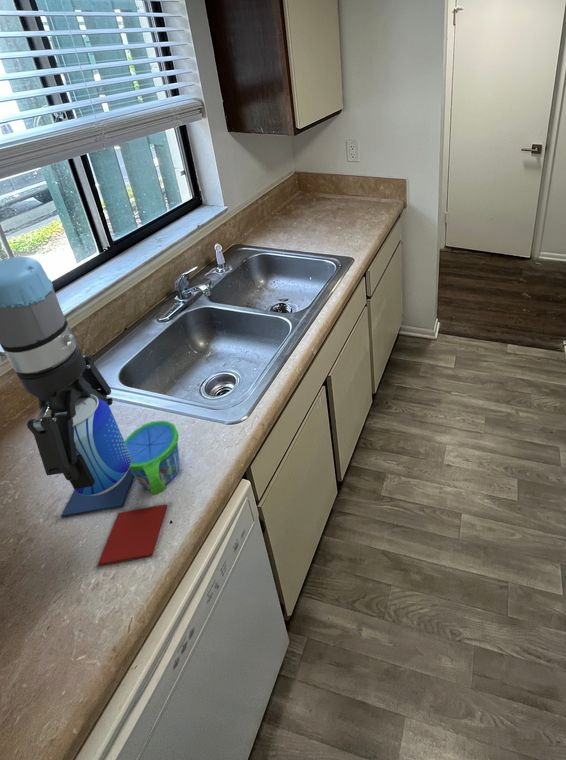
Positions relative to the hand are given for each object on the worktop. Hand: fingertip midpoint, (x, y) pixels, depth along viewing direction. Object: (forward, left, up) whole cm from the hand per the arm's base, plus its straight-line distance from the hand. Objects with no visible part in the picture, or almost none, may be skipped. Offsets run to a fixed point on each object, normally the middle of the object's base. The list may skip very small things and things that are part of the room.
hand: (97, 459), depth 74 cm
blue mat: (-10, +12, -22) cm, 26 cm away
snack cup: (+1, +12, -22) cm, 25 cm away
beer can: (0, 0, -5) cm, 5 cm away
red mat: (0, 0, -22) cm, 22 cm away
